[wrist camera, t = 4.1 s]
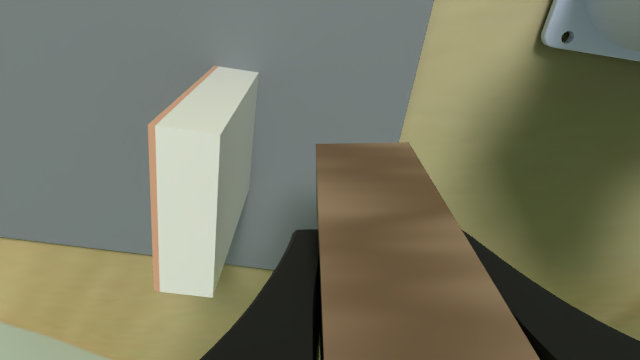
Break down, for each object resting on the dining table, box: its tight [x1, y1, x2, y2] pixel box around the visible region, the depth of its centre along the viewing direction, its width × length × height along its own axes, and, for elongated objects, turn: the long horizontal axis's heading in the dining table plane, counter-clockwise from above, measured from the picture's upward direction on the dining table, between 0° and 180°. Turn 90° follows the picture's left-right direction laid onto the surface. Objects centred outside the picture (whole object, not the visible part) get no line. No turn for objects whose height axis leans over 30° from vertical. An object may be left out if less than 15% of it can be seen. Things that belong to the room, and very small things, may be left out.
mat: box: [0, 0, 434, 270], centre depth 20 cm, size 22×16×1 cm
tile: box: [148, 66, 259, 298], centre depth 17 cm, size 2×6×8 cm, turn 172°
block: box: [316, 142, 540, 360], centre depth 10 cm, size 3×3×9 cm
